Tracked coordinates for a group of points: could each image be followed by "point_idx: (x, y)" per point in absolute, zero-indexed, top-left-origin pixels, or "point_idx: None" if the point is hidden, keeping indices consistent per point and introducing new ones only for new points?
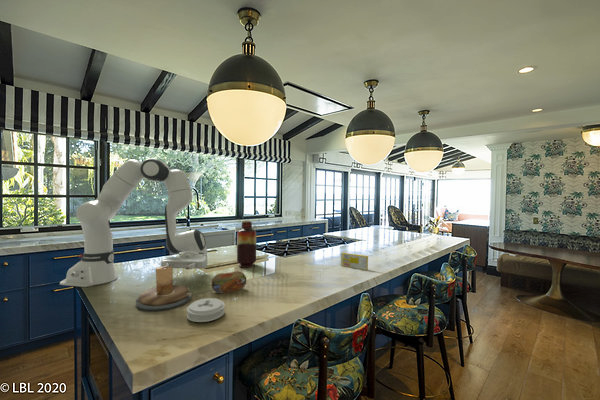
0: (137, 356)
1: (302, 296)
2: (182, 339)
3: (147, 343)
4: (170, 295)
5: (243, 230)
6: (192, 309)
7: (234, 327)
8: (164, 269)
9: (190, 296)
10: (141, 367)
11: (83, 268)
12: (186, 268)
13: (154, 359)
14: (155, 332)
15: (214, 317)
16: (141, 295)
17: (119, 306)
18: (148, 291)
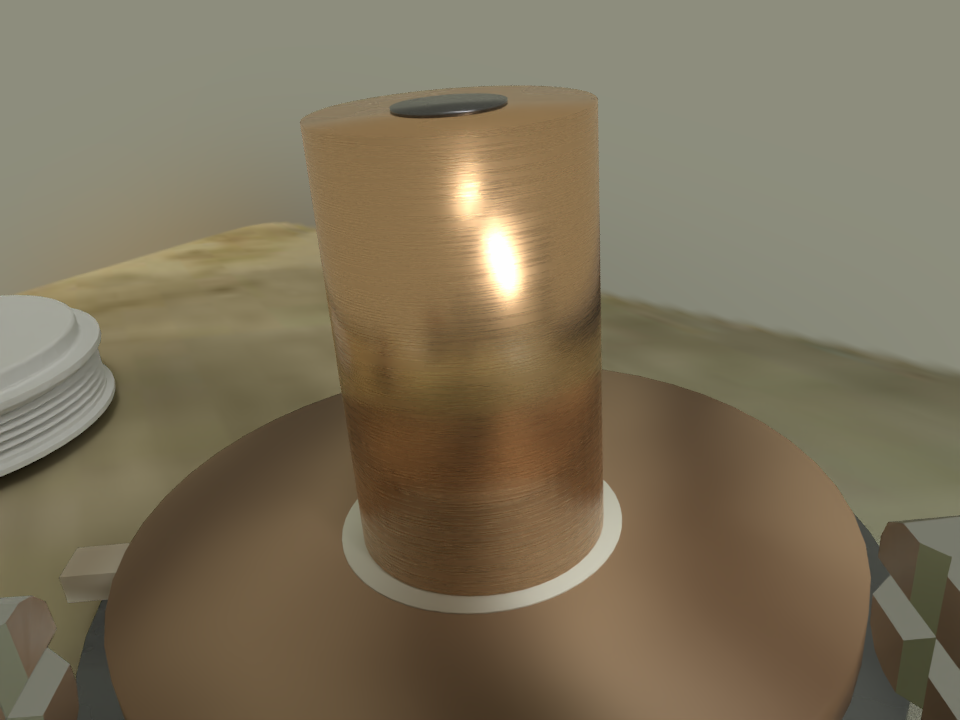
0: (298, 240)
1: None
2: (127, 297)
3: (295, 269)
4: (354, 477)
5: None
6: (48, 298)
7: None
8: (407, 99)
9: (92, 630)
10: (256, 225)
11: None
12: (71, 674)
13: (223, 241)
14: (294, 306)
15: None
16: (750, 433)
17: (912, 448)
18: (792, 525)
